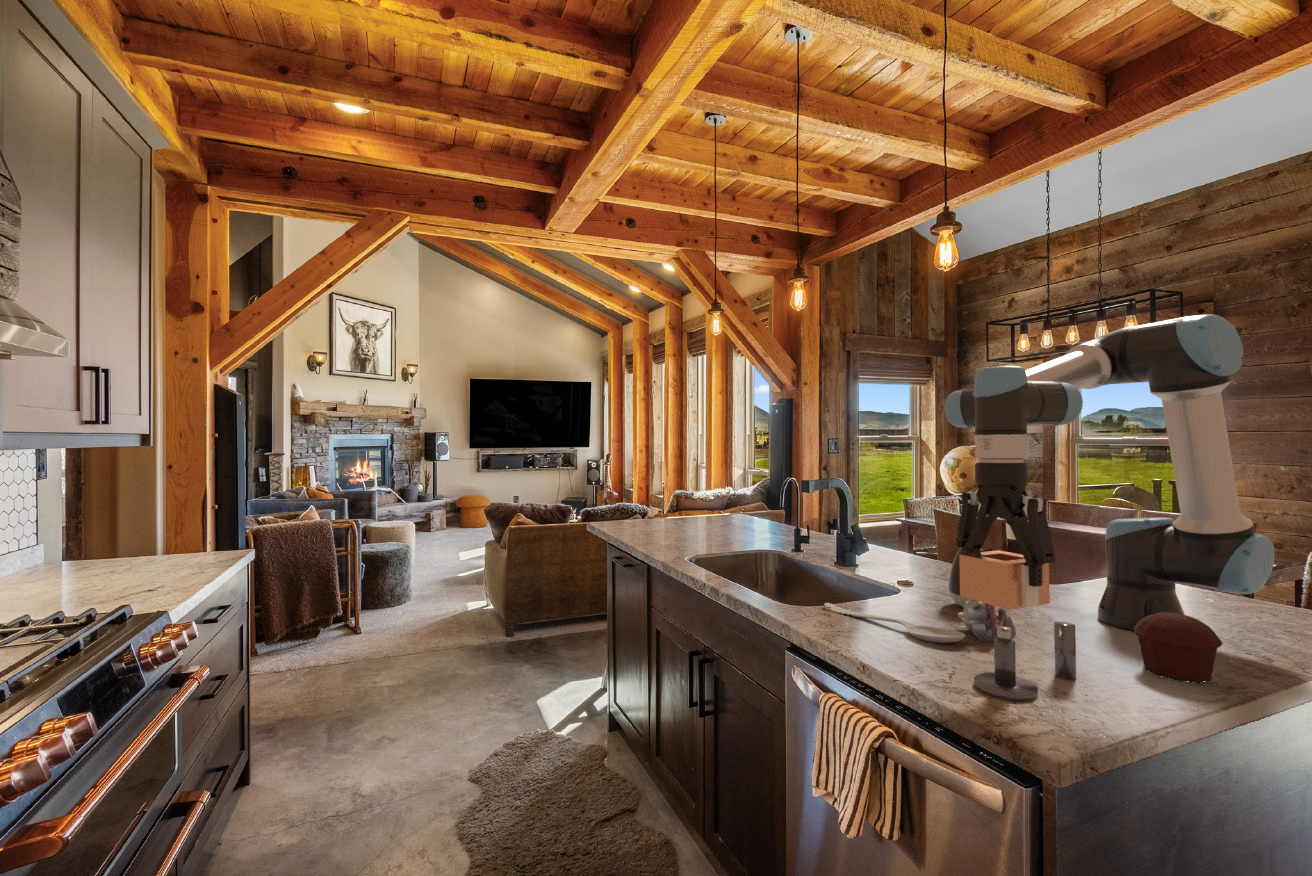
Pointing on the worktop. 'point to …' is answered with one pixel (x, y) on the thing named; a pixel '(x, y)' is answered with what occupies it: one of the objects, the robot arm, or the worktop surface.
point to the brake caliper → (984, 620)
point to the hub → (1005, 673)
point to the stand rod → (1065, 650)
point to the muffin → (1177, 646)
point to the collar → (997, 579)
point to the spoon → (909, 627)
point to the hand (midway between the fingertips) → (1002, 598)
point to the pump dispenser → (958, 579)
